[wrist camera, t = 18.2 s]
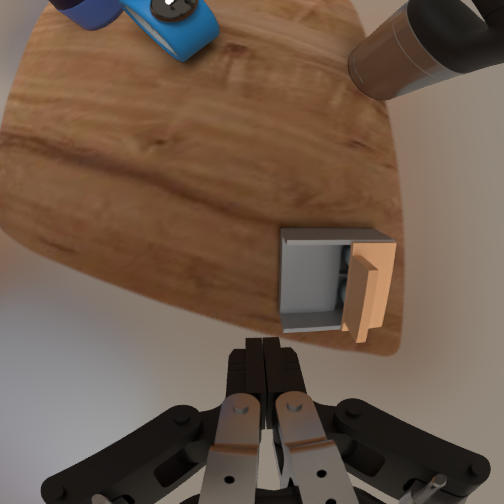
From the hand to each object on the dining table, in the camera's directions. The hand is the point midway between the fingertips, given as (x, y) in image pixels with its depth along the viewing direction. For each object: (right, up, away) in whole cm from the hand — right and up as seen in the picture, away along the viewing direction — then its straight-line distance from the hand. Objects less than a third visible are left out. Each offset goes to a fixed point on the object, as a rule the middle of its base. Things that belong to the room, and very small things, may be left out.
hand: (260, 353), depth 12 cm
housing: (+10, +2, +28) cm, 30 cm away
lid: (+14, 0, +22) cm, 26 cm away
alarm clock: (-11, +35, +17) cm, 41 cm away
